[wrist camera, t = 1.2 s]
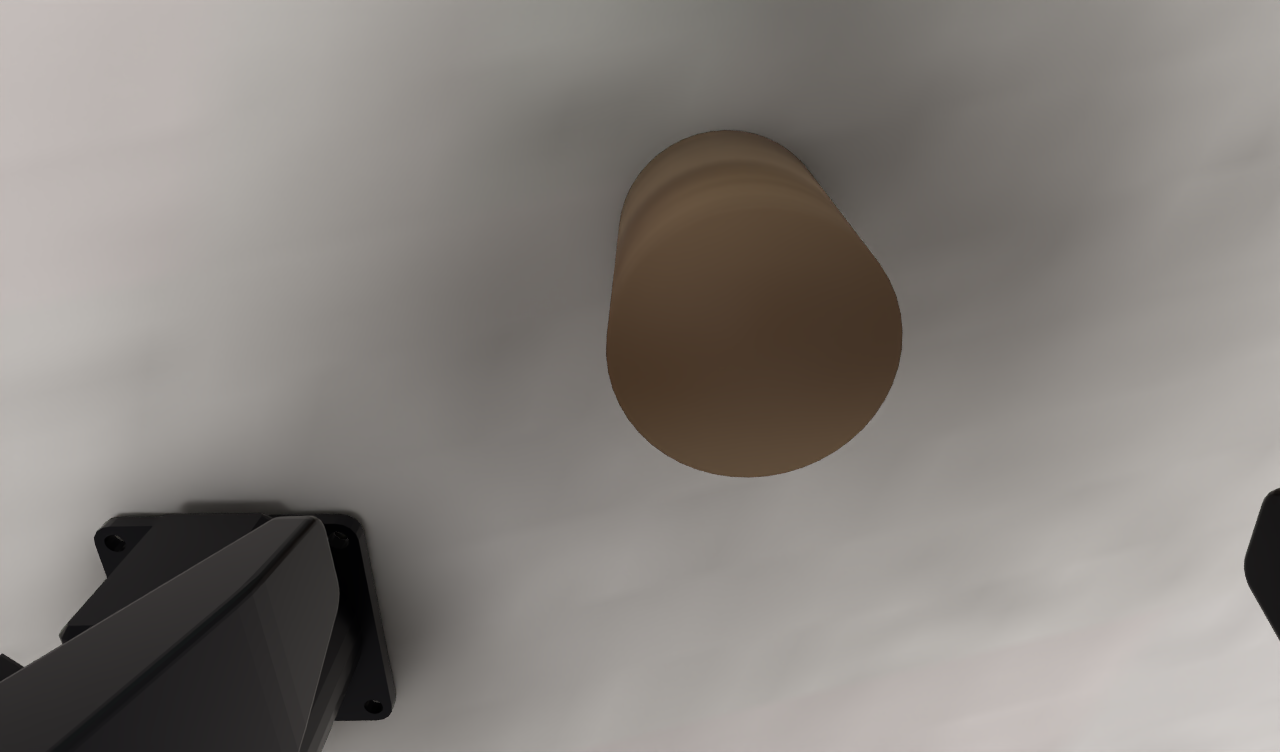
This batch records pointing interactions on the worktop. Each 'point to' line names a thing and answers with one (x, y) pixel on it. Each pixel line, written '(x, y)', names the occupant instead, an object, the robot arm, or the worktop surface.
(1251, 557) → the robot arm
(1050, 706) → the worktop surface
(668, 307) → the brown cylinder
